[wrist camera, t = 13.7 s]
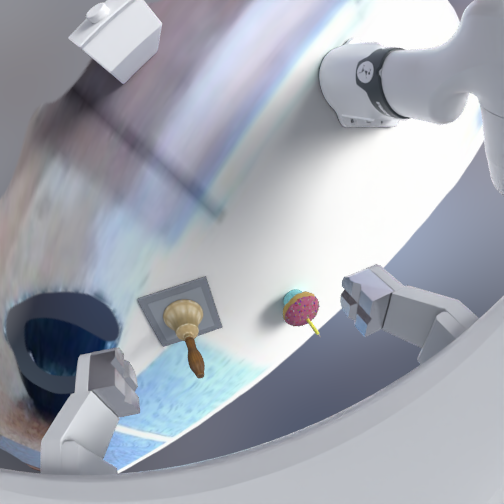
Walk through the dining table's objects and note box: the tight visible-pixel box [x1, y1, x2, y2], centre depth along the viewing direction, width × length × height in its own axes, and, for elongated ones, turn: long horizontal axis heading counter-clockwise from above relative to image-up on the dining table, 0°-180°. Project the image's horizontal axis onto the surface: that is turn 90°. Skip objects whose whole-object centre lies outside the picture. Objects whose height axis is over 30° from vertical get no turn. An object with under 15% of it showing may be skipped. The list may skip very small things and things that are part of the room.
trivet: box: [138, 276, 222, 347], centre depth 56 cm, size 14×14×1 cm
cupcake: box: [283, 290, 321, 337], centre depth 60 cm, size 9×8×12 cm
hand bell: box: [163, 299, 204, 378], centre depth 49 cm, size 8×8×16 cm
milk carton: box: [69, 0, 162, 84], centre depth 23 cm, size 7×7×19 cm
